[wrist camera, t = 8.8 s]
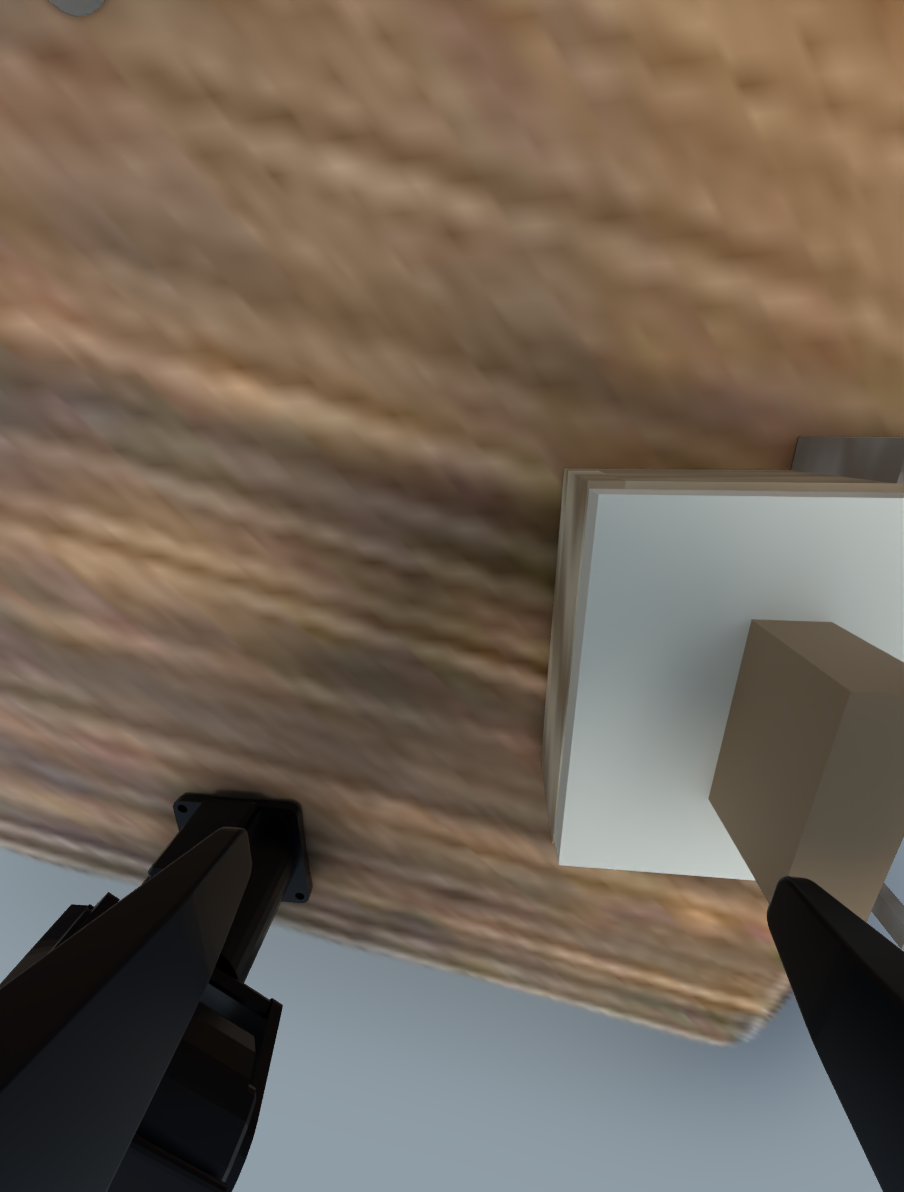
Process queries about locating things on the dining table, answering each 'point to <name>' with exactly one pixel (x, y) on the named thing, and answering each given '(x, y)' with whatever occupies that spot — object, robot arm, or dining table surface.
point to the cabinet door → (738, 688)
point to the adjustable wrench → (77, 6)
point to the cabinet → (812, 470)
